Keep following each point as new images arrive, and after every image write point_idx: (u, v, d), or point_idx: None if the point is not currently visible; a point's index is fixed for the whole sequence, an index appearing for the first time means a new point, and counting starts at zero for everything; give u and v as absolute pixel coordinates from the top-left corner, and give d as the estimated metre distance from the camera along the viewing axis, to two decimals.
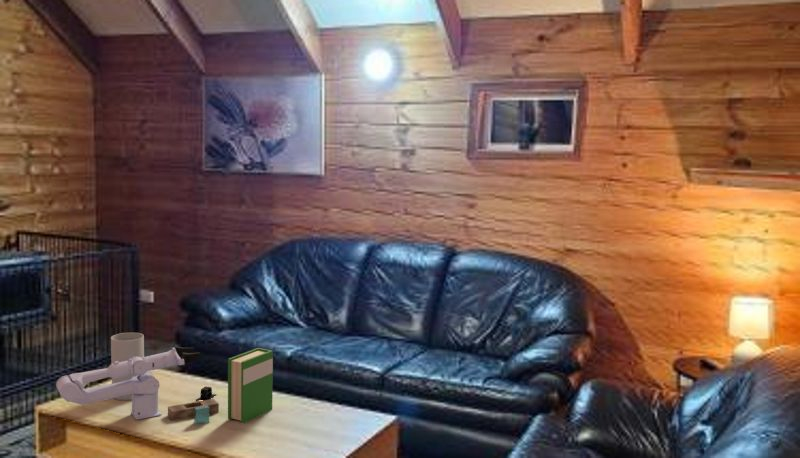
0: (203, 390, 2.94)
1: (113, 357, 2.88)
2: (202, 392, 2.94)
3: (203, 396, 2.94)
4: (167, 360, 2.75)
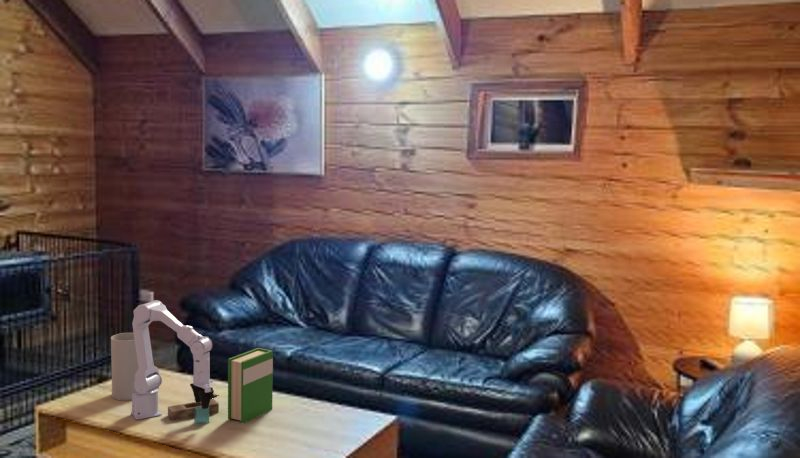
0: None
1: (113, 357, 2.88)
2: None
3: None
4: (205, 374, 2.66)
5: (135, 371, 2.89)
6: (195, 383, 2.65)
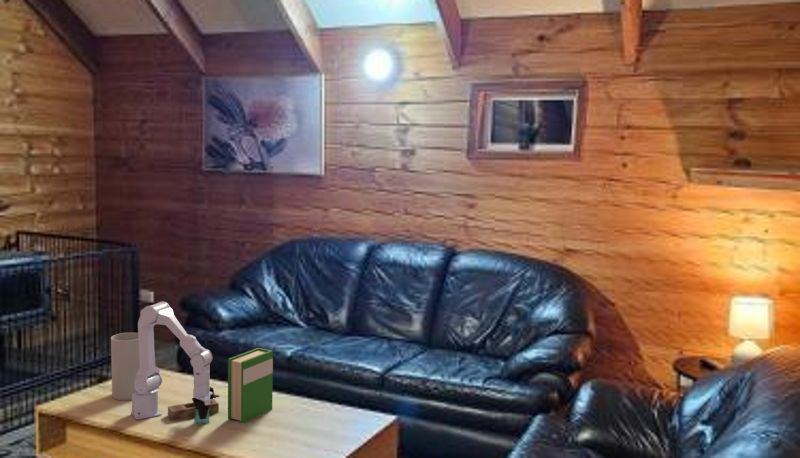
0: None
1: (113, 357, 2.88)
2: None
3: None
4: (205, 387, 2.66)
5: (135, 371, 2.89)
6: (195, 396, 2.66)
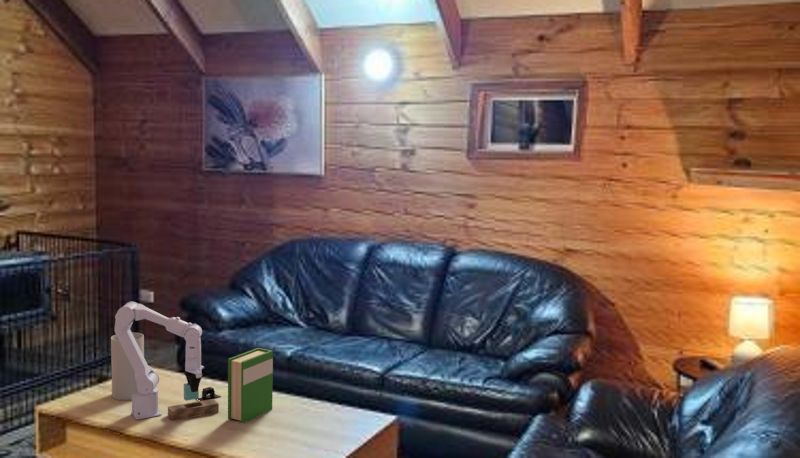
0: (204, 390, 2.94)
1: (113, 357, 2.88)
2: (203, 392, 2.94)
3: (203, 396, 2.94)
4: (196, 360, 2.73)
5: None
6: (187, 369, 2.73)
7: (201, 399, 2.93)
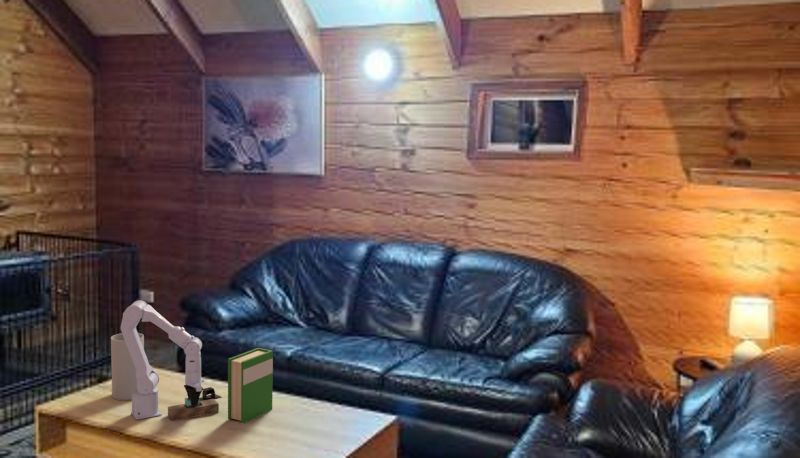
0: (204, 390, 2.94)
1: (113, 357, 2.88)
2: (203, 392, 2.94)
3: (204, 396, 2.94)
4: (196, 374, 2.74)
5: (135, 371, 2.89)
6: (187, 382, 2.74)
7: (201, 399, 2.93)
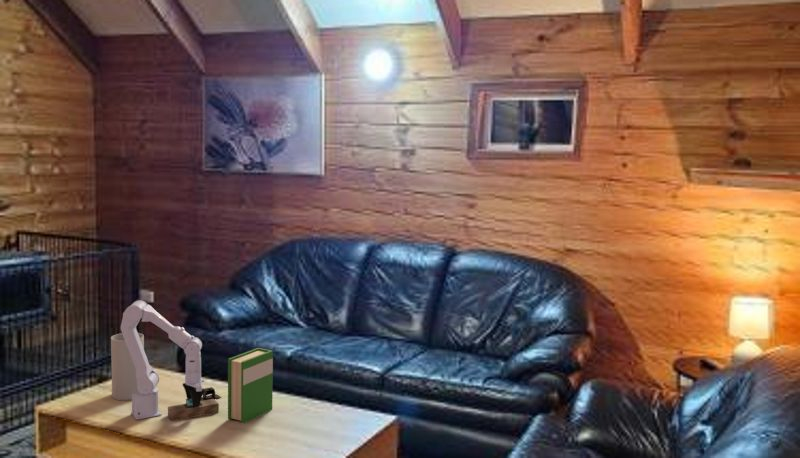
0: None
1: (113, 357, 2.88)
2: None
3: (204, 396, 2.94)
4: (196, 374, 2.74)
5: (135, 371, 2.89)
6: (187, 382, 2.74)
7: (201, 399, 2.93)
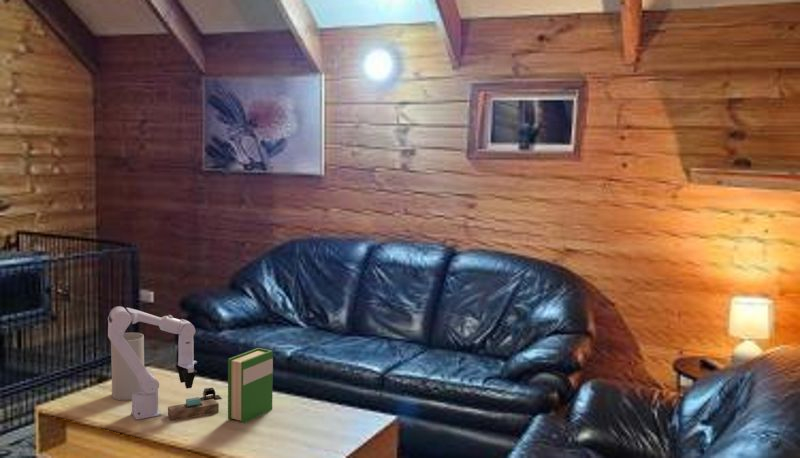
0: (204, 390, 2.94)
1: (113, 357, 2.88)
2: (204, 392, 2.94)
3: (204, 396, 2.94)
4: (189, 355, 2.79)
5: None
6: (179, 364, 2.79)
7: (201, 399, 2.93)
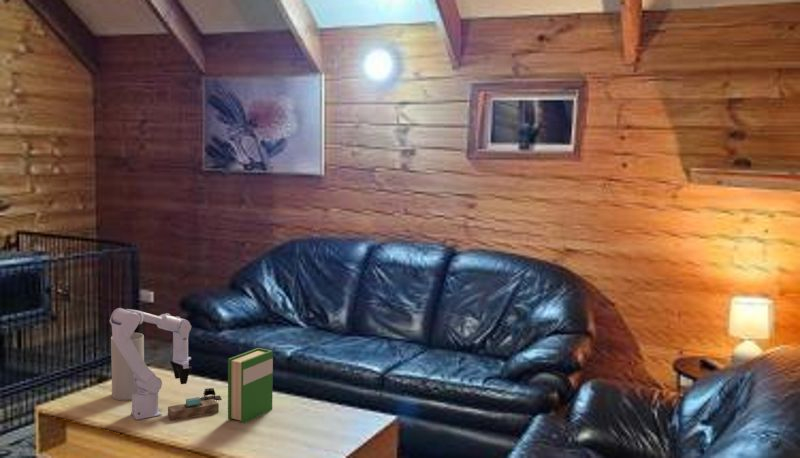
0: (205, 390, 2.94)
1: (113, 357, 2.88)
2: (204, 392, 2.94)
3: (204, 396, 2.94)
4: (184, 352, 2.84)
5: None
6: (174, 360, 2.84)
7: (201, 399, 2.93)
